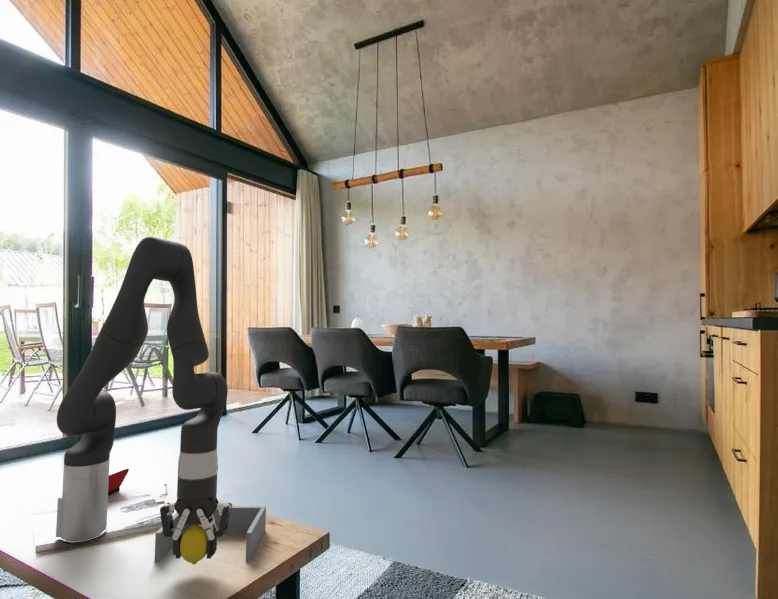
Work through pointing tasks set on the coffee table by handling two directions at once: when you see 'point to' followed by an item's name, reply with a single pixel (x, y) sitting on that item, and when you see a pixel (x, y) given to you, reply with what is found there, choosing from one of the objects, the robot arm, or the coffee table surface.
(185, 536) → the lemon
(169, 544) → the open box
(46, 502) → the coffee table surface
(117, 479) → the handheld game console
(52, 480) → the coffee table surface
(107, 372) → the robot arm
